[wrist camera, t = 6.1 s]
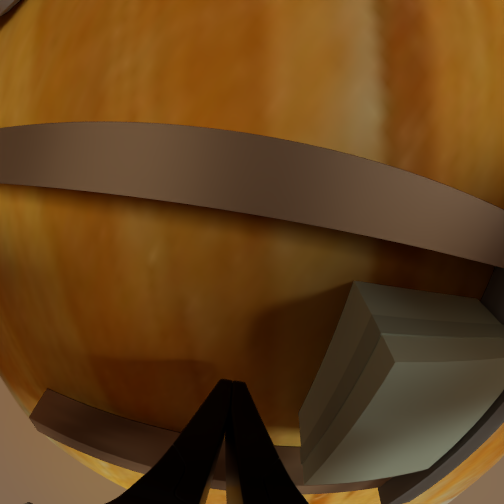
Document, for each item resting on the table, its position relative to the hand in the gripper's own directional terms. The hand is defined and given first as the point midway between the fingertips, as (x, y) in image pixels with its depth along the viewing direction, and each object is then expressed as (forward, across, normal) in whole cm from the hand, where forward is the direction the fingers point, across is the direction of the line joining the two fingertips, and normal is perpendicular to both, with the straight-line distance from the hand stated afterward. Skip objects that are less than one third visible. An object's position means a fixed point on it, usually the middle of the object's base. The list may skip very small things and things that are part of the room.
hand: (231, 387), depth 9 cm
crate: (+1, -6, -1) cm, 6 cm away
